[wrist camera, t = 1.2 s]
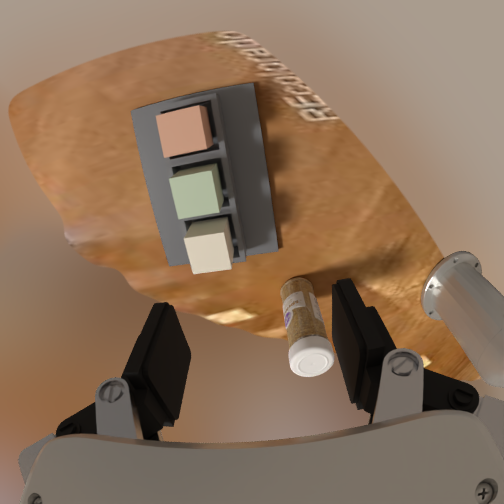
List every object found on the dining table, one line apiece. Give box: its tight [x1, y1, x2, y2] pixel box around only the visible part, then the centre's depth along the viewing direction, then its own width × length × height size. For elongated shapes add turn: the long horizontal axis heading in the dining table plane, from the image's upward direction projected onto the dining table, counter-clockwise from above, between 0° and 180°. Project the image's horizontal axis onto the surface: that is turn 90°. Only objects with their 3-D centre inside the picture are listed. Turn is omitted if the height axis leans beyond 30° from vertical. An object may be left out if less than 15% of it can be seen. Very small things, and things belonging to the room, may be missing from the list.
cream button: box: [184, 217, 234, 274], centre depth 31 cm, size 4×4×4 cm
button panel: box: [131, 83, 278, 269], centre depth 31 cm, size 14×20×4 cm
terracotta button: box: [156, 105, 214, 158], centre depth 25 cm, size 4×4×4 cm
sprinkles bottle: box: [281, 277, 334, 377], centre depth 33 cm, size 5×5×13 cm
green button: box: [169, 163, 224, 219], centre depth 28 cm, size 4×4×4 cm
